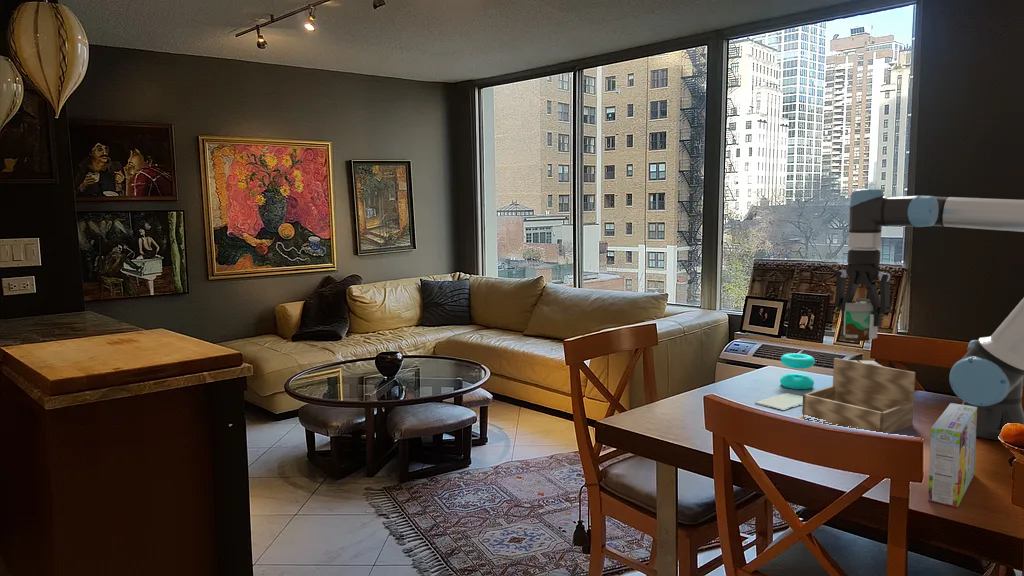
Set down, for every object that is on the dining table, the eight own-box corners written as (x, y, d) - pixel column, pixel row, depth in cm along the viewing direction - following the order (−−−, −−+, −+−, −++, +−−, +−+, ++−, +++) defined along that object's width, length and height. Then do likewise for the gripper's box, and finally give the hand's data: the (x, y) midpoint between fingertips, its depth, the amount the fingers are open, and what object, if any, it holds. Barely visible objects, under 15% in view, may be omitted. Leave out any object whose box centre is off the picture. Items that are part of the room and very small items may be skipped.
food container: (869, 343, 172) (871, 304, 171) (843, 341, 176) (845, 303, 174) (880, 336, 181) (881, 299, 180) (854, 334, 185) (856, 297, 184)
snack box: (944, 468, 148) (949, 401, 146) (975, 475, 145) (980, 406, 143) (925, 501, 132) (929, 426, 131) (959, 509, 129) (964, 432, 127)
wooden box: (912, 424, 177) (915, 372, 176) (869, 442, 165) (872, 386, 163) (833, 405, 195) (835, 357, 193) (789, 419, 183) (791, 369, 181)
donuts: (815, 360, 208) (780, 357, 212) (814, 391, 209) (779, 389, 213) (814, 353, 217) (781, 351, 221) (813, 383, 219) (780, 381, 222)
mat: (814, 401, 200) (814, 399, 200) (782, 411, 190) (782, 409, 190) (787, 394, 207) (787, 392, 207) (755, 403, 198) (755, 402, 198)
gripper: (909, 249, 171) (904, 340, 173) (836, 246, 186) (833, 329, 189) (894, 251, 166) (890, 343, 169) (821, 248, 182) (818, 333, 185)
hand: (860, 336), depth 179 cm, fingers closed on food container, 6 cm apart
